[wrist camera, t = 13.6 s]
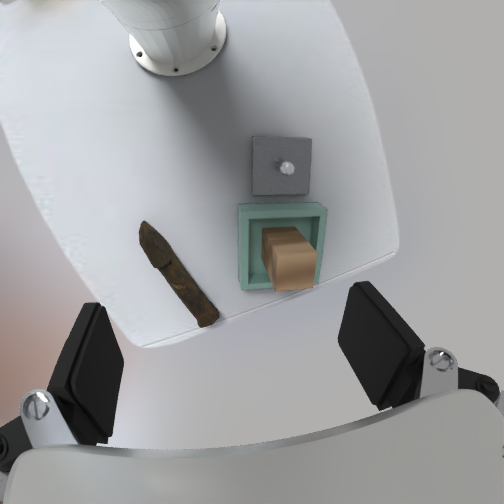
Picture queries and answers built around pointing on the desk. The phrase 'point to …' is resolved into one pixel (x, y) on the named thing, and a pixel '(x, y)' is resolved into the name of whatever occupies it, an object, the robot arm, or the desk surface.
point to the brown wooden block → (288, 258)
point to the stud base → (270, 159)
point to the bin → (275, 215)
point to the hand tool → (176, 275)
